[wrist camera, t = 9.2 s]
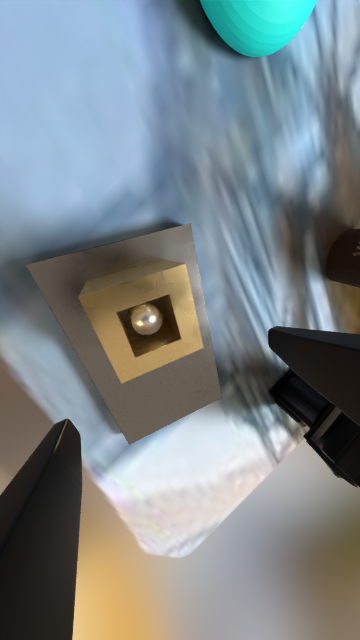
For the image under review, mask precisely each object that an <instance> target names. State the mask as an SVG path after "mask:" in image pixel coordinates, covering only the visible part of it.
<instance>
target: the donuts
mask: <svg viewBox="0 0 360 640" xmlns="http://www.w3.org/2000/svg"><path fill="white" fill-rule="evenodd" d="M200 2H201V5H202V7H203V9H204V11H205V13H206V15H207V17H208V19H209V20H210V22H211V24H212V25H213V27H214V28H215V30H216V31H217V33H218V34H219V35H220V37H221V38H222V39H223V40H224V41H225V42H226V43H227V44H228V45H229V46H230V47H231V48H233V49H234V50H235V51H237V52H239V53H241V54H243V55H246V56H249V57H263V56H268V55H271V54H273V53H275V52H277V51H278V50H280V49H281V48H283V47H284V46H285V45H287V44H288V43H289V42H290V41H291V40H292V39H293V38H294V36H295V35H296V34H297V33H298V32H299V31H300V29H301V28H302V26H303V25H304V23H305V22H306V20H307V19H308V17H309V16H310V14H311V12H312V10H313V8H314V6H315V4H316V2H317V0H200Z"/></svg>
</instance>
